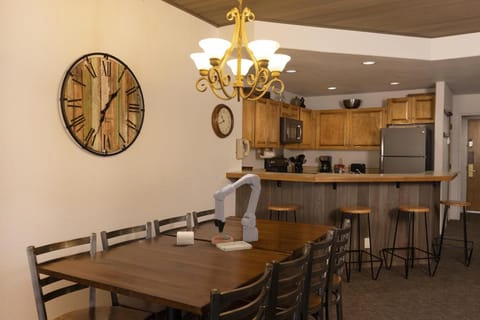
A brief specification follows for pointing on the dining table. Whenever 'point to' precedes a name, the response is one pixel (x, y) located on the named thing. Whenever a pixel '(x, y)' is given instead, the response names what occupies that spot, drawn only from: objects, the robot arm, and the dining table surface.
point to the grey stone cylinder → (225, 237)
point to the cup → (185, 238)
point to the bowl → (221, 240)
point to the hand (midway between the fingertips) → (219, 231)
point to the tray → (233, 246)
